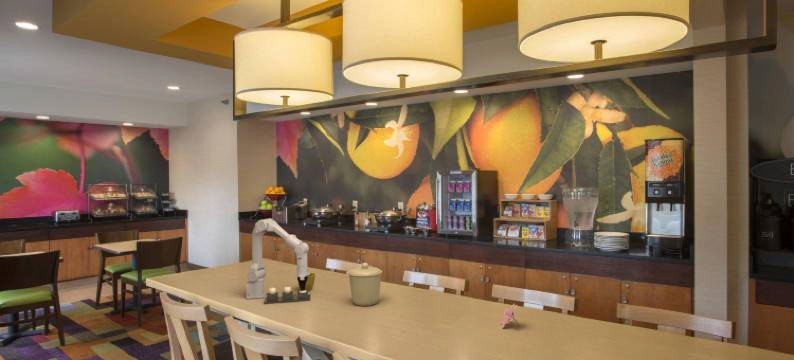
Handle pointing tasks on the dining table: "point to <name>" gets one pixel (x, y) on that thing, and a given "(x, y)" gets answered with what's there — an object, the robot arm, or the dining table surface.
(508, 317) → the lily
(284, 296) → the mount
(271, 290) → the knob near
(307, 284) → the flower pot
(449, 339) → the dining table surface
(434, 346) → the dining table surface
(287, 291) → the knob middle
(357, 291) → the canister
